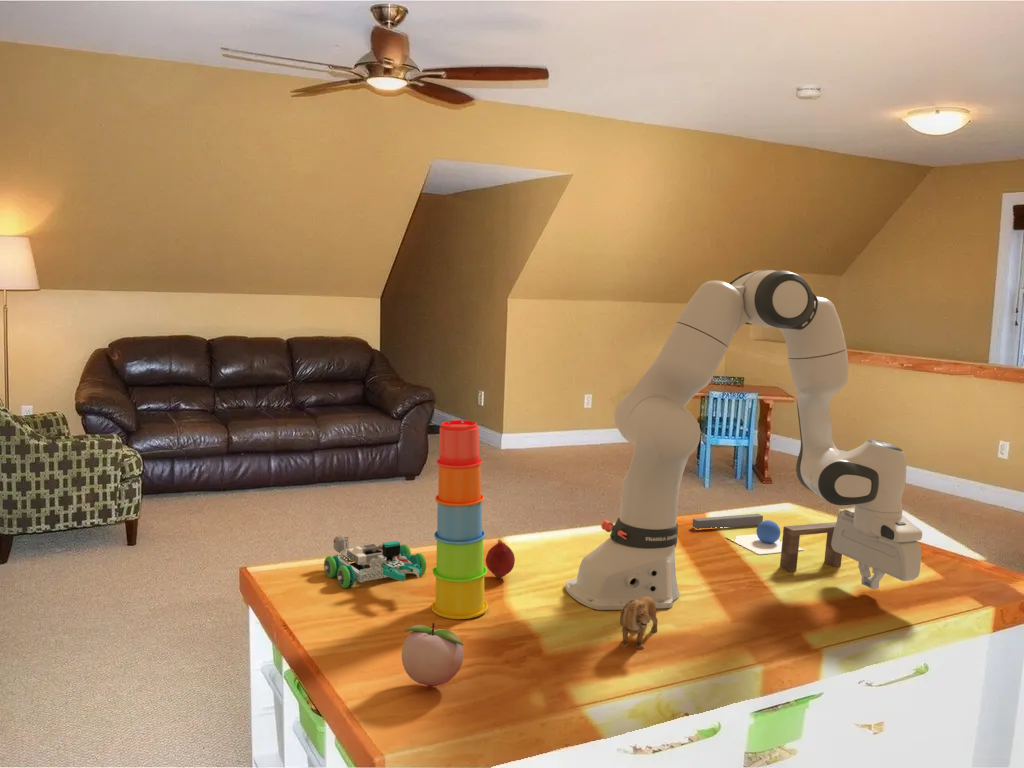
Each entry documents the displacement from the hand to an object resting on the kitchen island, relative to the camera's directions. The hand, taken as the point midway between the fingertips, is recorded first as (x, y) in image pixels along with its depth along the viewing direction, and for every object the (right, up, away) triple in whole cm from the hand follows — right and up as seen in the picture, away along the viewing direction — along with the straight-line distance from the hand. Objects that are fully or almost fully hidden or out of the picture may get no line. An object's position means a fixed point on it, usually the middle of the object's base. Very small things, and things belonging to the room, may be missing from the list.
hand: (869, 586), depth 176 cm
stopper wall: (-18, +5, +43) cm, 47 cm away
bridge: (-7, +1, +16) cm, 17 cm away
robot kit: (-98, +2, -6) cm, 98 cm away
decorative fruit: (-85, -4, -48) cm, 98 cm away
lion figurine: (-51, -3, -28) cm, 58 cm away
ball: (-11, +6, +31) cm, 34 cm away
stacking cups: (-82, 0, -18) cm, 84 cm away
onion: (-75, +2, -1) cm, 75 cm away
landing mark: (-13, +3, +30) cm, 33 cm away
